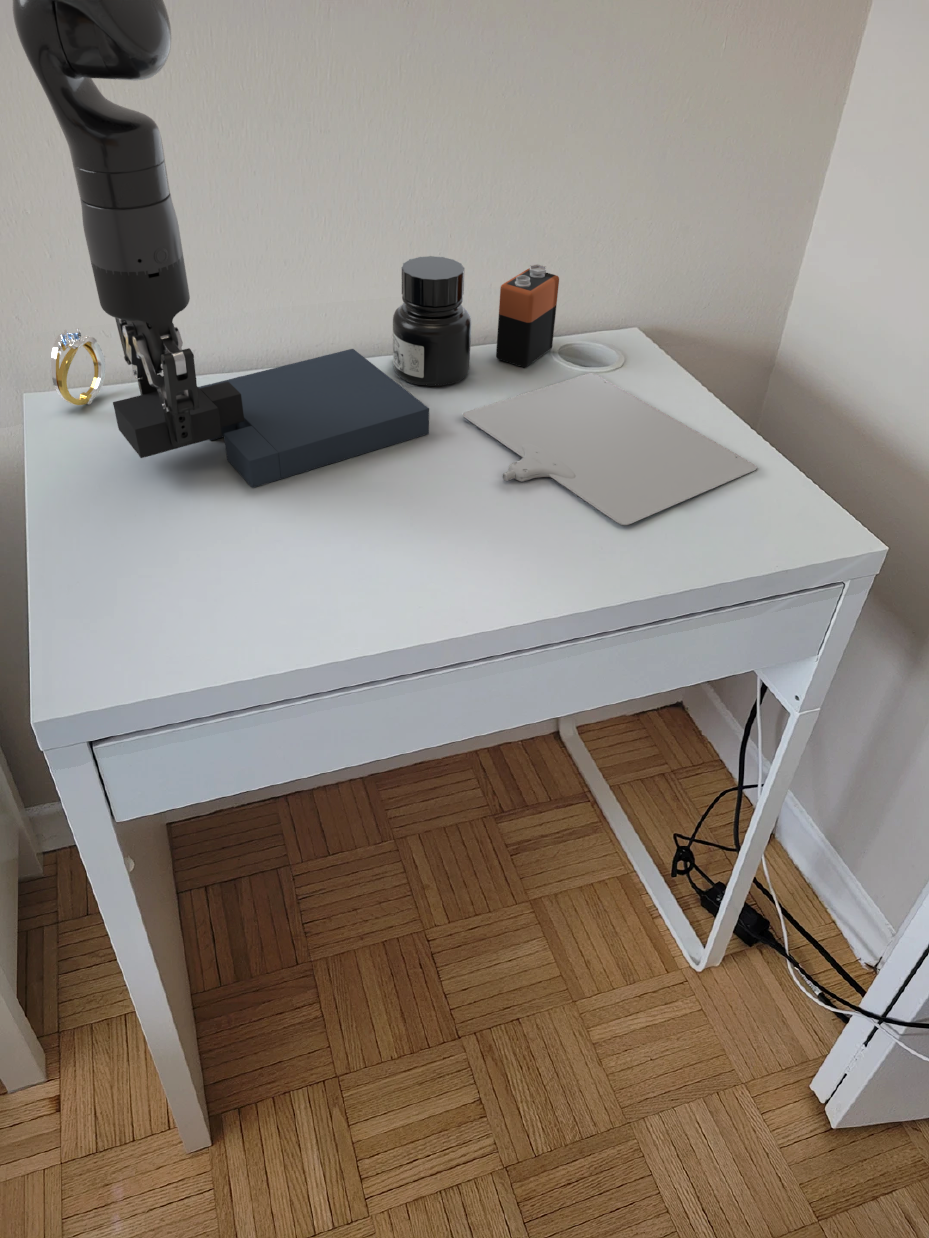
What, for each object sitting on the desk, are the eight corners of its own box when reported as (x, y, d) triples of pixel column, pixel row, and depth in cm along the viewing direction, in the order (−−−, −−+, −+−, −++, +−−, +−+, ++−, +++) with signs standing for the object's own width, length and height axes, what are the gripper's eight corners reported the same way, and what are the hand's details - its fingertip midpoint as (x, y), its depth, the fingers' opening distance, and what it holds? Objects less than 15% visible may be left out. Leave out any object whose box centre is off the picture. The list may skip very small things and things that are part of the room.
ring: (76, 420, 99) (58, 348, 93) (52, 413, 99) (32, 341, 94) (121, 392, 103) (105, 322, 98) (97, 386, 104) (81, 316, 99)
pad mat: (252, 488, 90) (248, 461, 88) (187, 416, 100) (183, 390, 98) (429, 434, 99) (429, 408, 97) (354, 372, 109) (352, 348, 107)
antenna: (429, 428, 100) (429, 418, 99) (591, 377, 112) (593, 368, 111) (591, 545, 85) (593, 535, 85) (758, 473, 97) (761, 463, 96)
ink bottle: (388, 353, 113) (386, 252, 105) (460, 350, 114) (464, 250, 107) (399, 392, 106) (398, 286, 98) (476, 388, 107) (482, 283, 99)
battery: (553, 349, 116) (562, 267, 109) (525, 369, 111) (533, 286, 105) (522, 340, 117) (529, 259, 111) (494, 359, 113) (499, 276, 106)
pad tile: (141, 458, 88) (134, 430, 86) (118, 430, 91) (112, 402, 89) (251, 428, 92) (247, 400, 90) (226, 402, 96) (222, 374, 94)
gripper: (64, 232, 82) (105, 406, 93) (121, 289, 74) (159, 474, 85) (148, 218, 86) (178, 387, 97) (212, 272, 77) (237, 451, 88)
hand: (169, 427), depth 91 cm, fingers closed on pad tile, 6 cm apart
